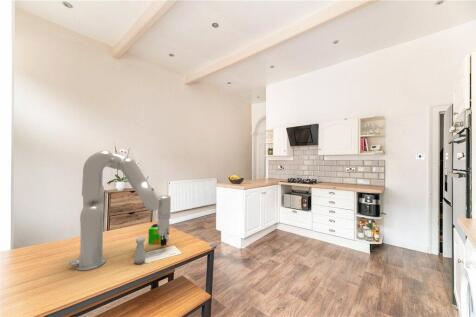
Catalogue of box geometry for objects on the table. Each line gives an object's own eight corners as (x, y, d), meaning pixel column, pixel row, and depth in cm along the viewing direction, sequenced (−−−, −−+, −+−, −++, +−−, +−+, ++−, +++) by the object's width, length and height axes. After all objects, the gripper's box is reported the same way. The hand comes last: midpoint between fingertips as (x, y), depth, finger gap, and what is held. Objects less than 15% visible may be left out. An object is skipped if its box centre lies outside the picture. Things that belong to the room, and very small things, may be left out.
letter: (145, 263, 106) (145, 263, 106) (140, 254, 117) (140, 253, 117) (181, 253, 118) (181, 253, 118) (174, 245, 128) (174, 245, 128)
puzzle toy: (168, 238, 141) (168, 223, 141) (164, 244, 131) (164, 228, 131) (153, 238, 140) (153, 224, 140) (148, 244, 130) (148, 229, 130)
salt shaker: (132, 265, 104) (133, 240, 104) (135, 260, 109) (135, 236, 109) (144, 264, 105) (145, 239, 105) (146, 259, 111) (147, 235, 111)
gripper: (154, 213, 128) (153, 242, 128) (161, 219, 116) (160, 251, 116) (166, 212, 132) (165, 239, 132) (174, 217, 120) (173, 248, 120)
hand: (163, 245), depth 124 cm, fingers closed
